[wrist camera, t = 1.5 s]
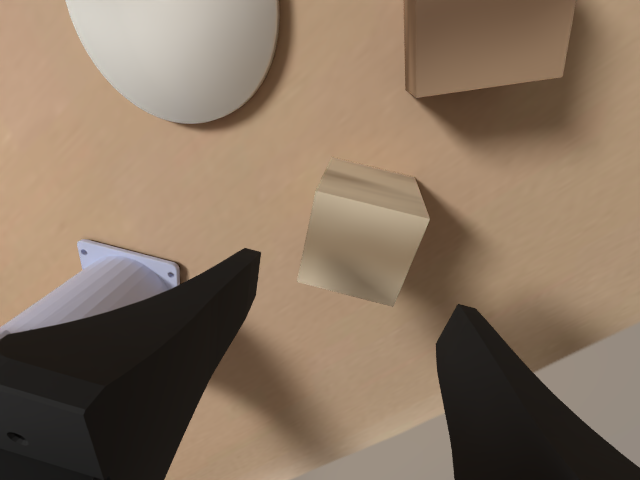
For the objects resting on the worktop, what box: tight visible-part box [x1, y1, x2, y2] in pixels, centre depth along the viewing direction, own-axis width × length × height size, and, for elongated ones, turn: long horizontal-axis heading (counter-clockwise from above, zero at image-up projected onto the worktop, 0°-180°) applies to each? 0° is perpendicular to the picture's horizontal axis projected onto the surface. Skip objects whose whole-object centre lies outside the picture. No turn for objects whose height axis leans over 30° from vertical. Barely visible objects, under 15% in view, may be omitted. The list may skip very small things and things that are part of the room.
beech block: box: [297, 157, 430, 307], centre depth 17 cm, size 5×5×6 cm
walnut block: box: [404, 0, 576, 98], centre depth 13 cm, size 5×5×5 cm
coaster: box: [65, 0, 280, 124], centre depth 16 cm, size 11×11×1 cm
